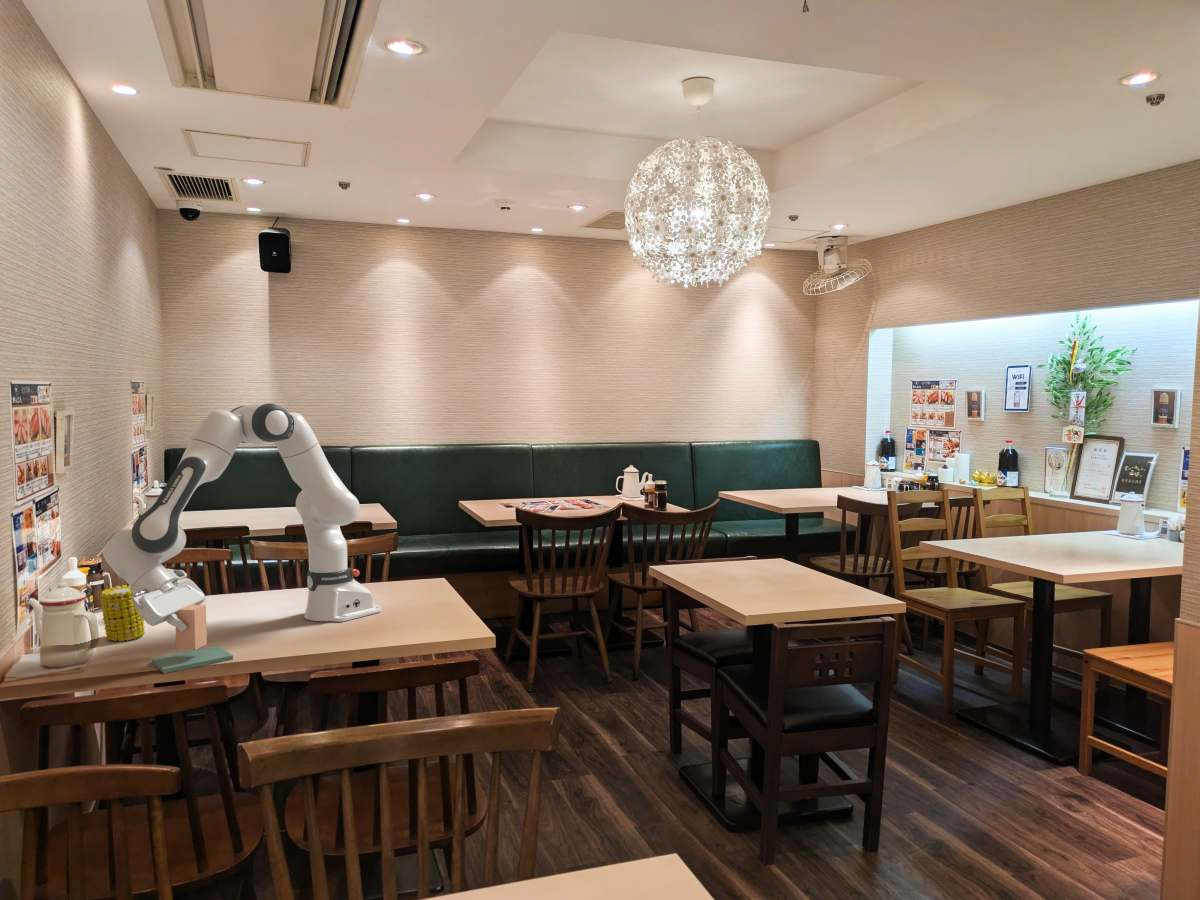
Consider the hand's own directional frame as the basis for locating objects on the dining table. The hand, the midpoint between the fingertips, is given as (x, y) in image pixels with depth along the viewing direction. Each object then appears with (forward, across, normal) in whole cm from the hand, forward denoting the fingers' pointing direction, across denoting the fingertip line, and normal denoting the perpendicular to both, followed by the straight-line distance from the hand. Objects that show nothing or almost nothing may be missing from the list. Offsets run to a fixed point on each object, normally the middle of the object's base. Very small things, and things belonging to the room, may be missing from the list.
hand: (193, 625), depth 209 cm
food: (-15, +16, +28) cm, 36 cm away
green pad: (+6, 0, +7) cm, 9 cm away
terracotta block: (+3, 0, +4) cm, 5 cm away
